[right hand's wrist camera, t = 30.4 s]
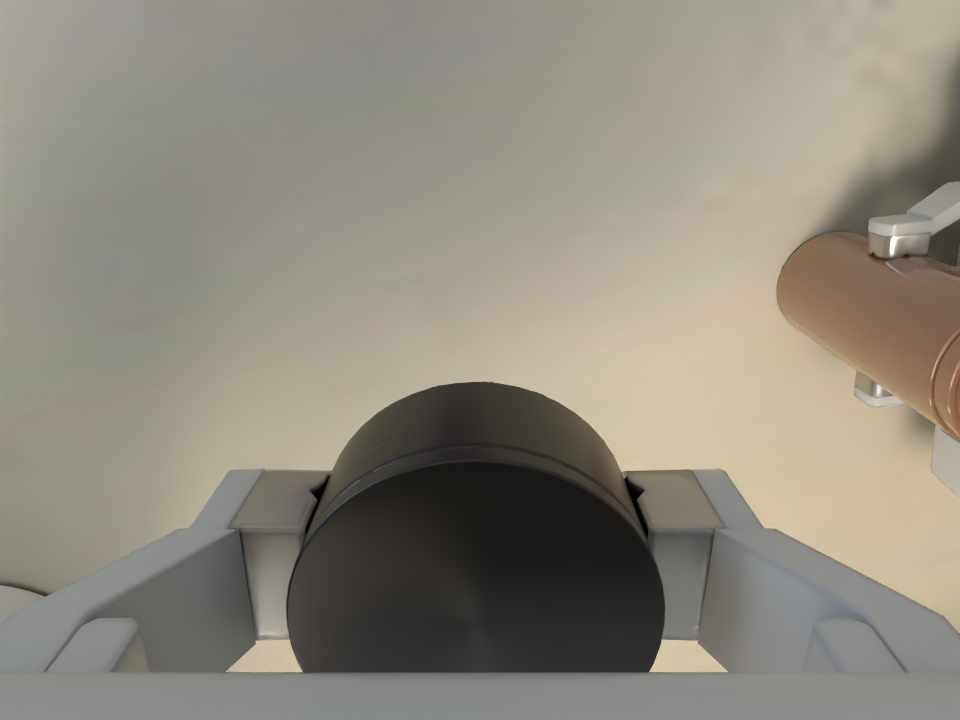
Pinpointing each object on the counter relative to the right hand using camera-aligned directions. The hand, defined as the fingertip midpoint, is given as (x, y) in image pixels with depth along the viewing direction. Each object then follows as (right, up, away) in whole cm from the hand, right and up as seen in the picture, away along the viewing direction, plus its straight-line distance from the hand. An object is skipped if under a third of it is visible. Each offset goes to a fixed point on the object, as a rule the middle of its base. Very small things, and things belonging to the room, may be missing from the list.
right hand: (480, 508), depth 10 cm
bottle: (+18, +6, +24) cm, 31 cm away
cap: (0, -1, -2) cm, 2 cm away
